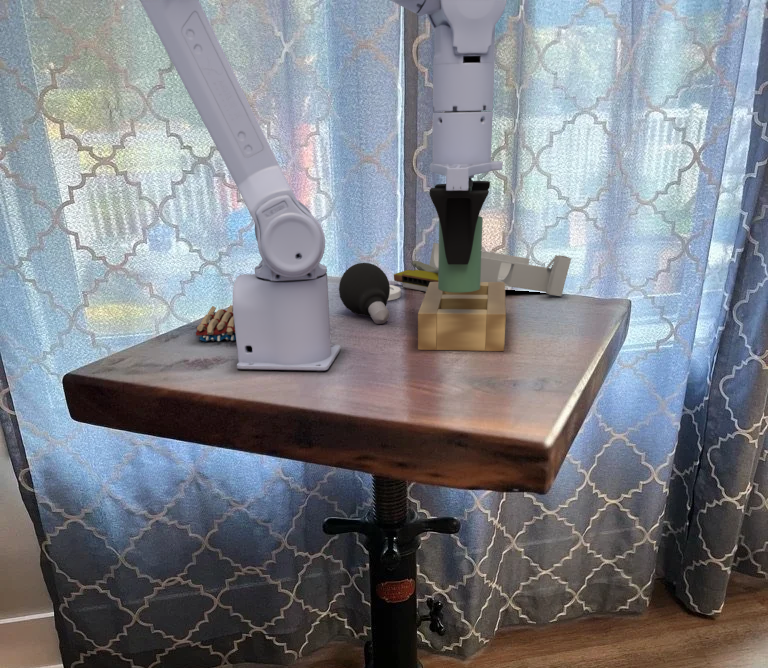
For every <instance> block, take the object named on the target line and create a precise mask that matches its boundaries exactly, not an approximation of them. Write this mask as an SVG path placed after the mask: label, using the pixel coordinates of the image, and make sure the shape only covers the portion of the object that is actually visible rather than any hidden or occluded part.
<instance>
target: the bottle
mask: <svg viewBox="0 0 768 668" xmlns="http://www.w3.org/2000/svg"><path fill="white" fill-rule="evenodd" d="M473 181H474V180H473V179H471V180H469V188H471V190H472V186H473ZM469 188H468V189H469ZM483 219H484V218H483V216H481V215H479V217H478V220H477V224H476V229H475V234H474V240H473V246H472V251H471V256H470V260H469V263H468V264H448V263H447V259H446V255H445V249H444V242H443V236H442V229H441V225H440V221H439V220H438V238H439V239H438V240H439V241H438V244H439V265H438V289H439V290H441V291H445V292H454V293H464V292H473V291H477V290H479V289H480V281H481V252H482V251H483V250H482V249H483V221H484V220H483Z"/></svg>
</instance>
